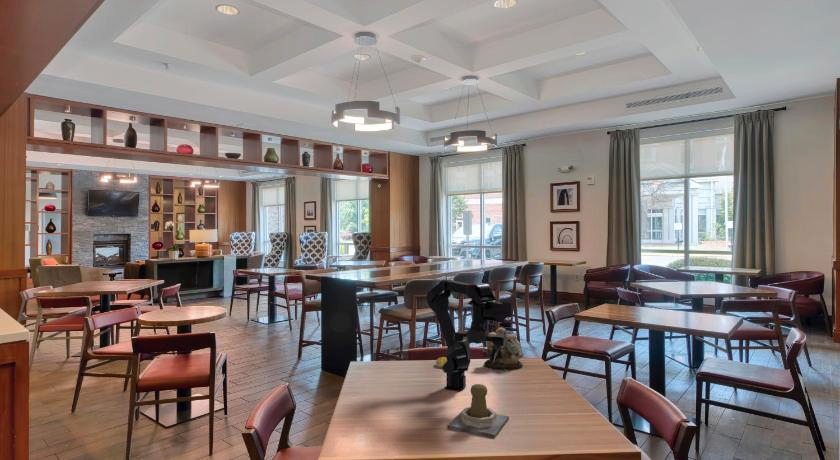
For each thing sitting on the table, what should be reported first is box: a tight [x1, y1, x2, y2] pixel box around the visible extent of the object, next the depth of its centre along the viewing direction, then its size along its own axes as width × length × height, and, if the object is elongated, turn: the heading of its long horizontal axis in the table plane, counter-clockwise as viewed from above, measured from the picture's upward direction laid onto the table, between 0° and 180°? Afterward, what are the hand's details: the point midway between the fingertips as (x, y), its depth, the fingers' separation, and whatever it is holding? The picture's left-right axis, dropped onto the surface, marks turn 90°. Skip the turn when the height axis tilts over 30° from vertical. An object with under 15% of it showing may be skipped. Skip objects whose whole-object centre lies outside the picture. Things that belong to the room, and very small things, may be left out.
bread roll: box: [435, 356, 447, 369], centre depth 210 cm, size 8×9×4 cm
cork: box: [470, 383, 488, 418], centre depth 148 cm, size 6×6×11 cm
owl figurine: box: [481, 327, 524, 371], centre depth 210 cm, size 18×12×17 cm, turn 93°
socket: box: [446, 406, 510, 439], centre depth 148 cm, size 15×15×4 cm
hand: (480, 361), depth 170 cm, fingers open, 9 cm apart
